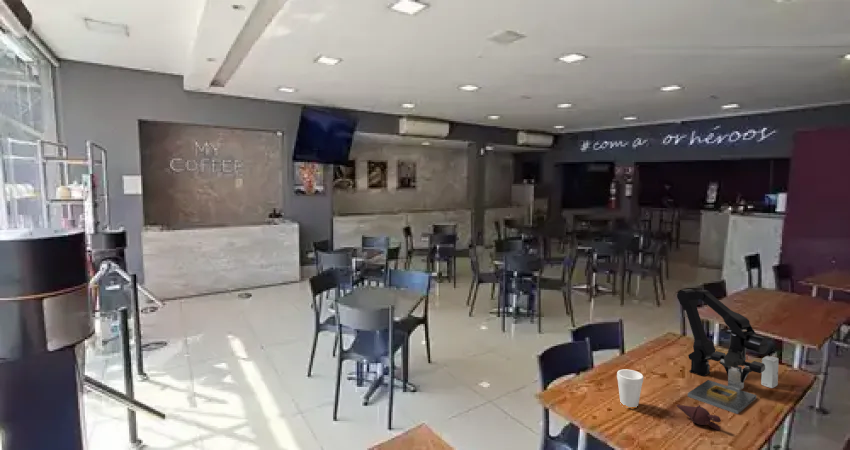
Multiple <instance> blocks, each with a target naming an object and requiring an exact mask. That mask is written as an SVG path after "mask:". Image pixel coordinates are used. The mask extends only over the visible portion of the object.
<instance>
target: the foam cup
mask: <svg viewBox="0 0 850 450" xmlns="http://www.w3.org/2000/svg"><path fill="white" fill-rule="evenodd" d="M616 379H617V385H618V393H619V394H618V395H619V400H620V402H621V403H622V404H623V405H626V406H628V407H637V406H638V407H639V404H640V403H639V402H640V398H641V392H642V386H643V383H644V375H643V374H642V372H639V371H637V370H634V369H626V368H625V369H619V370H617V372H616ZM621 403H620V404H621Z"/></svg>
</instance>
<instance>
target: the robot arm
mask: <svg viewBox="0 0 850 450" xmlns="http://www.w3.org/2000/svg"><path fill="white" fill-rule="evenodd" d="M676 299H677V300H678V303H679V304H680V305H681V306H682V307H683V309H684V311H685V313H686V316H687V320H688V323H689V326H690V328H691V329H690V330H691V332H692V335H693V339H694V341H693V347H692V348H693V351H692V352H691V353H689V354H688V355H687V356H688V359H689V361H690V362H691V364H690V370H689V372H690V373H693V374H696V375H698V376H702V377H705V376H707V375H709V374H710V373H711V372H710V369H711V368H710V367H711V366H710V364H709V363H710V361H715V362H719V364H720V365H721V366H723V367H724V370H725V372H726V375H727V376H728V371H729V369H730V368H731V367H733V368H737V367H738V366H740V367H742V370H743V374H742V383H743V382H744V383H745V380H746V379H747V377H748V375H749V373H752V372H754V373H757V374H762V372H763V371H764V370H765V365H764V363H762V362H760V361H756V360H753V361H752V362H750V361H746V360H747V357H746V355H747V354H746V353H747V350H748V351H751V352H754V353H757V354H762V355H765V354H766V353H767V351H768V350H769V344H768V341H767V340H766V337H764V336H759V335H757V334H756V332H755V330H754V329H753V327H752V325H751V322H750V320H749V318H747V317H745V316H744V315H742V314H741V313H739V312H736V311H733V310H732V309H730V308H729V307H728V306H726V304H724V303H723V302H721V301H720V300H719V298H717V297H716V296H714V295H713V294H712V293H711V291H709V290H708V289H703V290H695V289H692V288H689V289H681V290H679V291H678V292H677V294H676ZM699 300H700V301H701V302H703V303H705V304H706V305H707V306H708V307H709V308H710V309H711V310H713V311H714V312H715V313H716V314H717V315H719V317H721V318H722V319H723V322H724V324H725V325H726V326H727V327H728V329H727V330H726V331H724V333H726V334H728V335H729V347H728V350H727V353H725V352H721V351H718V350H717V349H716V348H715V344H714V341H710V340H709V339H708V338H707V336H706V332H705V329H704V327H703V322H702V320H701V317H700V314H699V310H698V305H699Z"/></svg>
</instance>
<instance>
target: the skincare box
mask: <svg viewBox="0 0 850 450" xmlns="http://www.w3.org/2000/svg"><path fill="white" fill-rule="evenodd" d="M779 360H780V359H779V358H778V357H776V356H775V357H774V356H770V355H766V356H764V357H763V358H762V359H761V363H764V365H765V370H764V371H763V372H762V373H761V381H760V384H761V385H762V386H764V387H767V388H770V389H773V388H775V387H777V386H778V383H779V381H778V380H779Z"/></svg>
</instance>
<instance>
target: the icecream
mask: <svg viewBox="0 0 850 450" xmlns="http://www.w3.org/2000/svg"><path fill="white" fill-rule="evenodd" d="M676 407H677V408H678V409H679V410H680V411H682V412H683V413H684V414H685V415H686V416H687V417H689V418H690V420H691V421H692V424H697V425H699V426H706V425H708V426H709V427H711V428H712V429H713V430H716V431H720V430H721V427H720V425H718V424H717V423H721V422H722V421H721V420H722V419H721V417H720V416H719V415H717V414H710V412H709V411H708V410H707V409H706V408H705V407H702V406H701V405H697V406H691V405H684V404H683V405H682V404H676Z"/></svg>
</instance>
